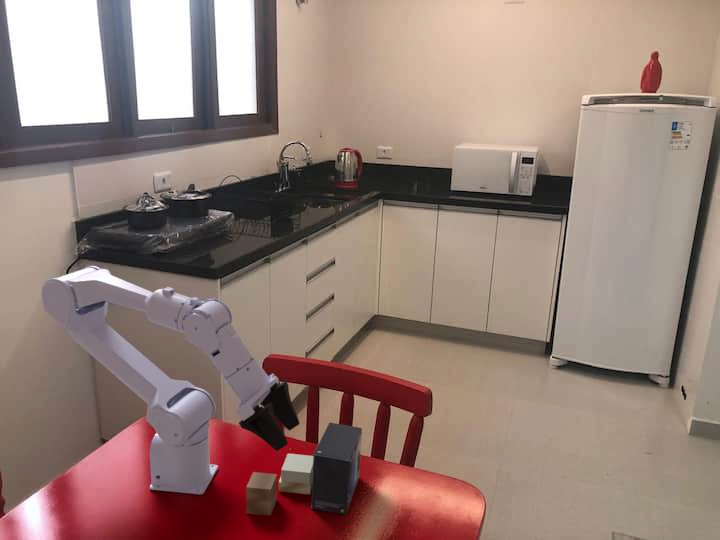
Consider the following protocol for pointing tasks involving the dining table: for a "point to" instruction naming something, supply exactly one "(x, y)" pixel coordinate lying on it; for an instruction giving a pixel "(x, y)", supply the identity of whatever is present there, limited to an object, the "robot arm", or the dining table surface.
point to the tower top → (297, 469)
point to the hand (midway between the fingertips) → (288, 436)
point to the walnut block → (261, 493)
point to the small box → (336, 468)
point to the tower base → (295, 487)
